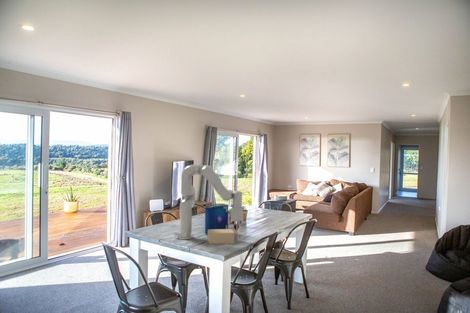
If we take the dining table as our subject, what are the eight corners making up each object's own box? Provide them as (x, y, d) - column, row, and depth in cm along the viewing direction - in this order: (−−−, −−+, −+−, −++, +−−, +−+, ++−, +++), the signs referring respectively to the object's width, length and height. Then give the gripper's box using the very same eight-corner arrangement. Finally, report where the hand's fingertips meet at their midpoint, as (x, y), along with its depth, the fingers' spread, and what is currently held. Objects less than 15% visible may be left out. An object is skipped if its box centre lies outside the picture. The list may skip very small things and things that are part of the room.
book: (207, 236, 264) (208, 206, 264) (203, 234, 270) (204, 205, 270) (228, 232, 277) (229, 204, 277) (224, 231, 283) (224, 203, 283)
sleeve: (209, 243, 242) (209, 233, 242) (207, 239, 254) (207, 229, 254) (234, 242, 246) (234, 232, 246) (231, 238, 258) (231, 228, 258)
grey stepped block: (213, 242, 244) (213, 225, 244) (211, 238, 253) (211, 222, 253) (238, 241, 248) (238, 225, 248) (235, 237, 258) (235, 222, 258)
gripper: (228, 207, 247) (227, 230, 247) (247, 207, 251) (246, 230, 251) (226, 205, 255) (226, 228, 255) (245, 205, 258) (244, 228, 258)
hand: (236, 229), depth 253 cm, fingers closed
